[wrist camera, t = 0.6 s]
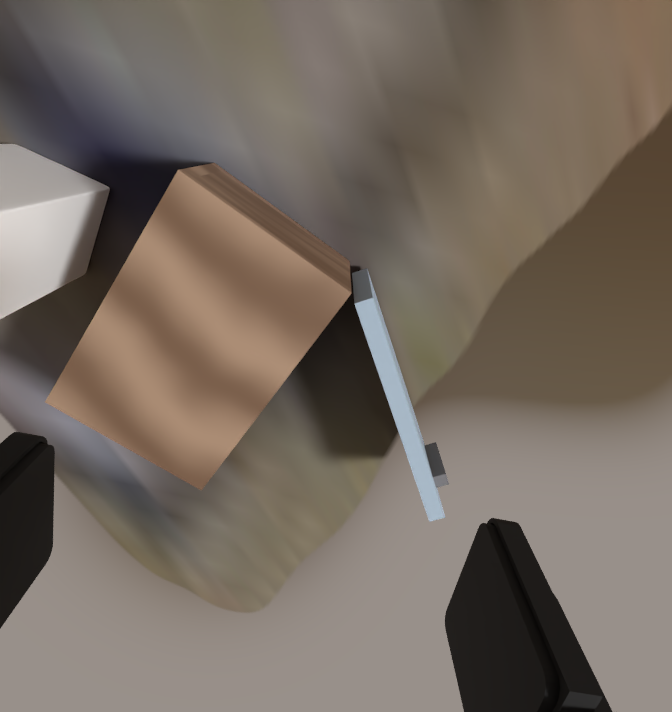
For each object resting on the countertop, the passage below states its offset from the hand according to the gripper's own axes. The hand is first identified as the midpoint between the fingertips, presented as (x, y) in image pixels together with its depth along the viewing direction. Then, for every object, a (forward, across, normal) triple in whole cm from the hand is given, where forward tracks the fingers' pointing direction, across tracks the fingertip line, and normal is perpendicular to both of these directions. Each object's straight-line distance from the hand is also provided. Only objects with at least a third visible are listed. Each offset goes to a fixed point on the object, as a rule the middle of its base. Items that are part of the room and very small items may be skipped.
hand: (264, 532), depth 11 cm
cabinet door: (+30, -8, +7) cm, 32 cm away
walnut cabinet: (+31, +7, +5) cm, 32 cm away
